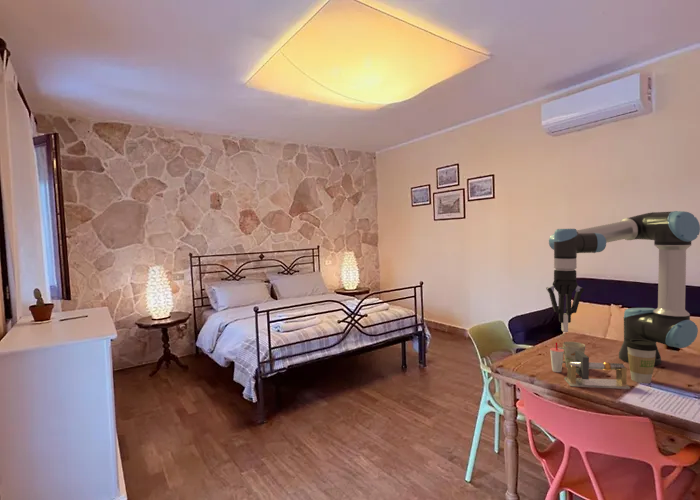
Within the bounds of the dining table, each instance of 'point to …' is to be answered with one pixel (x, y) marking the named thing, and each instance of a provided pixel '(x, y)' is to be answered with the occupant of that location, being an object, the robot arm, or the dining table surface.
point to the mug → (571, 350)
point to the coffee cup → (641, 359)
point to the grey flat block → (582, 364)
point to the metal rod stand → (598, 383)
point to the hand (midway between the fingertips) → (564, 330)
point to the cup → (556, 358)
